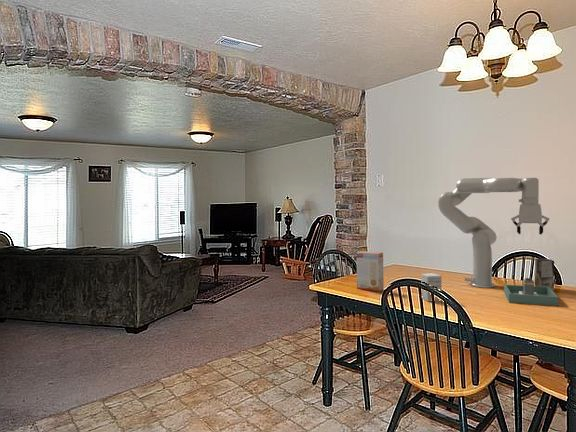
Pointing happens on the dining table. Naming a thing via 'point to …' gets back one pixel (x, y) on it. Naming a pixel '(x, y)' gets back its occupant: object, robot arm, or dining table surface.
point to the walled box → (540, 295)
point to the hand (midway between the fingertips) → (529, 234)
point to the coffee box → (544, 273)
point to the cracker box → (370, 271)
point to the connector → (528, 286)
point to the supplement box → (433, 281)
